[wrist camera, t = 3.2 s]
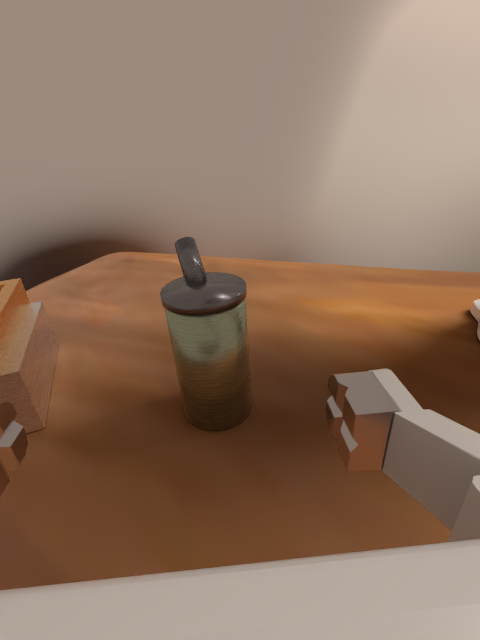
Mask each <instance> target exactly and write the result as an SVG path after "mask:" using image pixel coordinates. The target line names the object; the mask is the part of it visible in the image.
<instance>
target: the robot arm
mask: <svg viewBox="0 0 480 640" xmlns="http://www.w3.org/2000/svg"><path fill="white" fill-rule="evenodd" d="M470 312H471V314H472V315H473V316H474V317H475V319H476V320H477V321H478V329H477V335H478V338H479V340H480V299H478V300H475V301H474V302H473V304H472V306H471V308H470ZM328 388H329V390H330V392H331V396H330V397H329V399H328V400H327V406H326V413H327V421H328V425H329V429H330V431H331V434H332V436H333V437H334V438H336V439H337V440H338V441H339V448H338V451H339V453H340V455H341V458H342V460H343V462H344V465H345V467H346V469H347V472H358V471H373V470H383V471H382V472H383V473H385V474H386V475H387V476H388V477H389V478H390V479H392V480H393V481H394V482H395V483H396V484H397V485H399V486H400V487H401V488H402V489H403V490H405V491H406V492H407V493H408V494H409V495H410V496H412V497H413V498H414V499H415V500H416V501H417V502H419V503H420V504H421V505H422V506H423V507H424V508H426V509H427V510H428V511H429V512H430V513H431V514H433V515H434V516H435V517H436V518H437V519H438V520H440V521H441V522H442V523H443V524H444V525H446V526H447V527H448V528H449V529H450V530H451V531H452V533H451V535H450V538H449V541H448V542H445V543H436V544H427V545H417V546H408V547H399V548H389V549H380V550H371V551H361V552H352V553H343V554H333V555H324V556H315V557H306V558H296V559H287V560H278V561H269V562H259V563H250V564H241V565H232V566H223V567H213V568H204V569H195V570H186V571H176V572H167V573H158V574H149V575H139V576H130V577H121V578H111V579H102V580H93V581H83V582H74V583H64V584H55V585H46V586H36V587H27V588H18V589H8V590H0V640H480V434H479V433H477V432H475V431H473V430H471V429H468V428H466V427H464V426H462V425H460V424H458V423H456V422H454V421H452V420H450V419H448V418H446V417H444V416H442V415H440V414H438V413H436V412H434V411H432V410H430V409H426V410H423V408H422V407H421V406H420V405H419V404H418V402H417V401H416V400H415V399H414V398H413V396H412V395H411V394H410V393H409V391H408V390H407V389H406V388H405V387H404V385H403V384H402V383H401V382H400V380H399V379H398V378H397V377H396V376H395V374H394V373H393V372H392V371H391V370H389V369H387V368H386V369H377V370H368V371H364V372H353V373H341V374H331V375H330V377H329V382H328ZM16 416H17V412H16V410H15V408H14V406H13V404H12V403H9V402H6V401H3V402H0V496H1V494H2V493H3V491H4V490H5V488H6V486H7V485H8V483H9V481H10V480H9V475H8V473H10V472H11V471H12V470H13V469H15V468H16V467H17V466H19V465H20V463H21V461H22V460H23V458H24V456H25V453H26V449H27V444H28V441H27V434H26V432H25V429H24V427H23V426H21V425H20V424H18V423H17V422H15V421H14V420H15V418H16Z"/></svg>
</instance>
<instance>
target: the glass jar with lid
mask: <svg viewBox="0 0 480 640" xmlns="http://www.w3.org/2000/svg"><path fill="white" fill-rule="evenodd" d="M175 248H176V252H177V255H178V258H179V262H180V265H181V268H182V272H183V275H184V277H181V278H178V279H175V280H173V281H171V282H169V283H168V284H166V285H165V286H164V287H163V288H162V289H161V292H160V295H161V300H162V305H163V307H164V308H165V312H166V317H167V323H168V328H169V333H170V338H171V344H172V349H173V354H174V359H175V365H176V370H177V375H178V381H179V386H180V391H181V396H182V402H183V407H184V412H185V416H186V418H187V420H188V421H189V422H190V423H191V424H192V425H194V426H195V427H197V428H200V429H203V430H209V431H219V430H225V429H229V428H231V427H234V426H236V425H238V424H239V423H241V422H242V421H243V420H245V419H246V417H247V416H248V415H249V413H250V411H251V408H252V394H251V379H250V363H249V348H248V333H247V318H246V302H245V298H246V294H247V293H246V283H245V281H244V280H243V279H242V278H241V277H238V276H236V275H233V274H228V273H218V272H210V273H205V271H204V268H203V264H202V261H201V258H200V255H199V252H198V249H197V246H196V242H195V240H194V239H193V238H191V237H185V238H181V239H179V240H178V241H176V243H175Z"/></svg>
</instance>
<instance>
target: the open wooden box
mask: <svg viewBox="0 0 480 640" xmlns="http://www.w3.org/2000/svg"><path fill="white" fill-rule="evenodd" d="M58 348H59V346H58V343H57V341H56V338H55V335H54V332H53V330H52V327H51V324H50V322H49V319H48V316H47V314H46V311H45V308H44V305H43V303H42V301H41V302H36V303H30V302H29V299H28V297H27V294H26V292H25V289H24V287H23V284H22V281H21V279H20V278H19V279H12V280H6V281H0V402H3V401H6V402H9V403H12V404H13V406H14V408H15V410H16V412H17V416H16V418H15V420H14V421H15V422H17V423H18V424H20V425H21V426H23V427H24V429H25V432H26V434H27V433H30V432H34V431H37V430H41V429H44V428H45V423H46V417H47V411H48V406H49V400H50V394H51V388H52V382H53V377H54V371H55V365H56V359H57V353H58Z"/></svg>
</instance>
